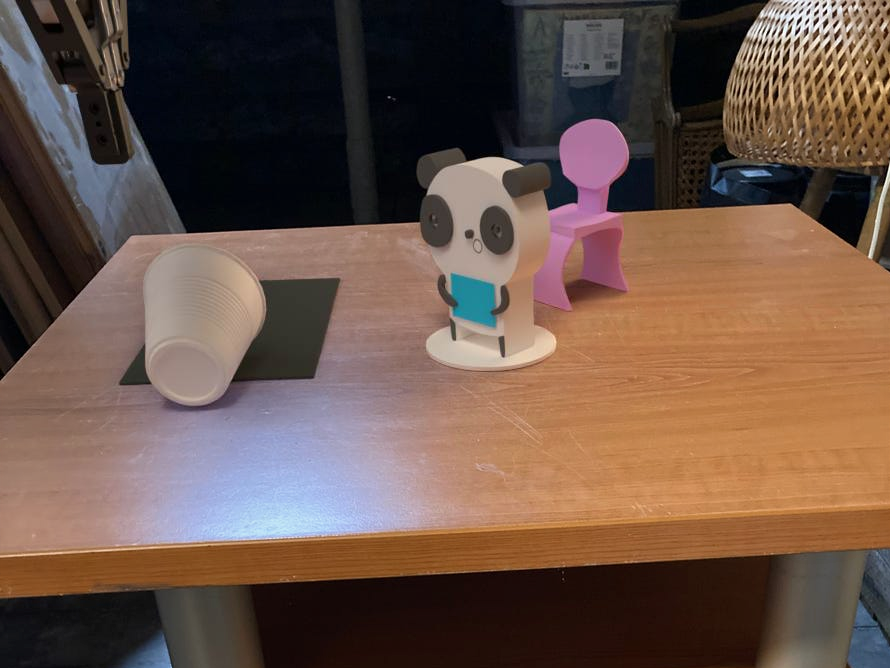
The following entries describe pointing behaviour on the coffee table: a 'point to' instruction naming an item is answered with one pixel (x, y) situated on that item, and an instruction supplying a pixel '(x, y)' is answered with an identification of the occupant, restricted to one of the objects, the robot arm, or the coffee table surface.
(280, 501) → the coffee table surface
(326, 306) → the mat
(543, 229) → the panda figurine
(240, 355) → the cup
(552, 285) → the toy chair
